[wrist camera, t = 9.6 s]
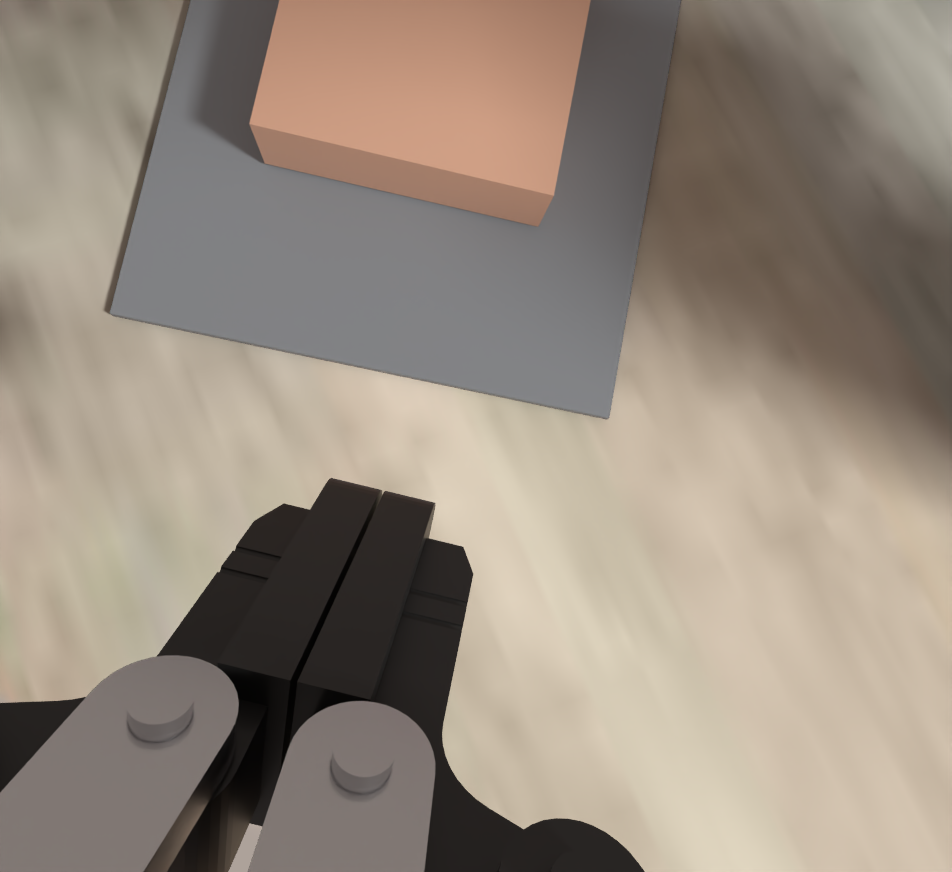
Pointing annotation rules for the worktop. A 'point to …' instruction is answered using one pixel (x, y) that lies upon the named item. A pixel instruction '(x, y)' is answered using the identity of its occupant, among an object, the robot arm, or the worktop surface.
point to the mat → (400, 229)
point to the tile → (424, 97)
